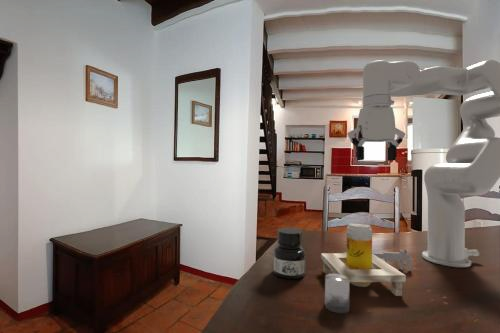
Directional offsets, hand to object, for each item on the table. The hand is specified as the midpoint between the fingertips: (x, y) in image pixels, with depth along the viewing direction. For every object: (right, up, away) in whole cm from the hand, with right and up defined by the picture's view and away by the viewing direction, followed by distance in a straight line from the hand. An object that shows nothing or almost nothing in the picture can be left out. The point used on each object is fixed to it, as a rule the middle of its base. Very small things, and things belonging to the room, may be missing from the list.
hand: (376, 160), depth 75 cm
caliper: (+1, -33, +4) cm, 33 cm away
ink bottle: (-27, -32, -5) cm, 42 cm away
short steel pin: (-20, -32, -22) cm, 43 cm away
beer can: (-10, -32, -10) cm, 35 cm away
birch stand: (-10, -32, -11) cm, 35 cm away
